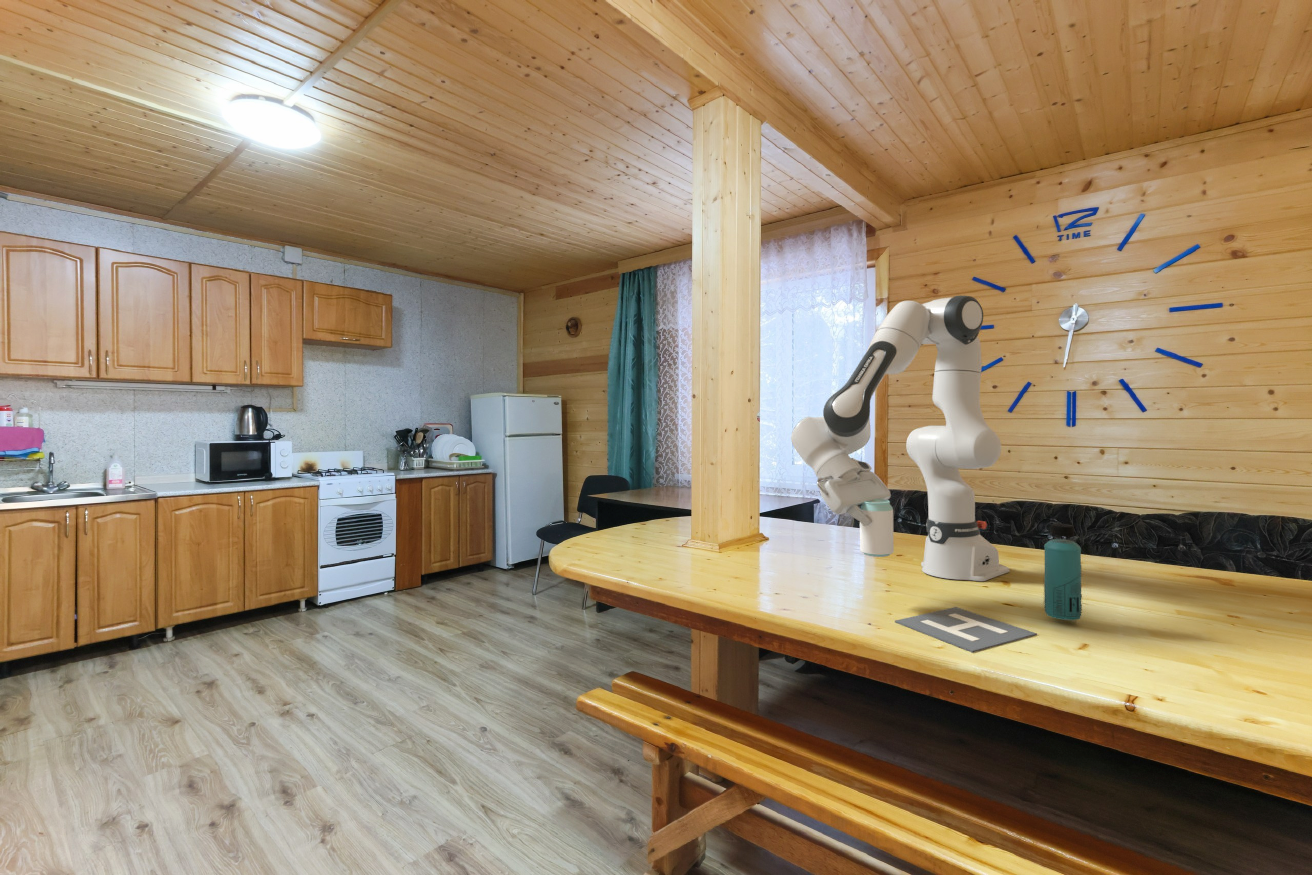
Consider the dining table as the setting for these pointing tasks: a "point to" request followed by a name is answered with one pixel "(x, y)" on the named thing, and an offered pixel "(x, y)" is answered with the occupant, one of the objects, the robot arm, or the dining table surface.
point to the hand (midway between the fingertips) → (879, 521)
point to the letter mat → (965, 629)
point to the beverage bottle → (1062, 575)
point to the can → (877, 529)
